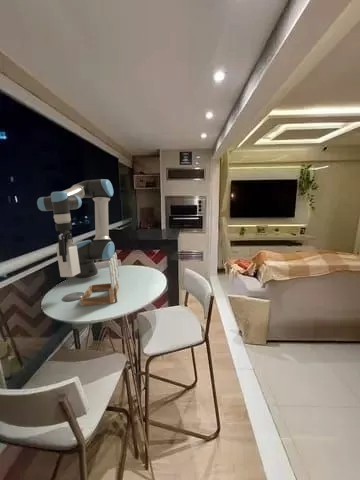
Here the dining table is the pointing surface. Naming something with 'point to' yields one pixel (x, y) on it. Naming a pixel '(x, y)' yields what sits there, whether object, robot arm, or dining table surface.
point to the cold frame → (104, 287)
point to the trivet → (73, 296)
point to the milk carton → (72, 259)
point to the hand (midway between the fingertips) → (69, 265)
